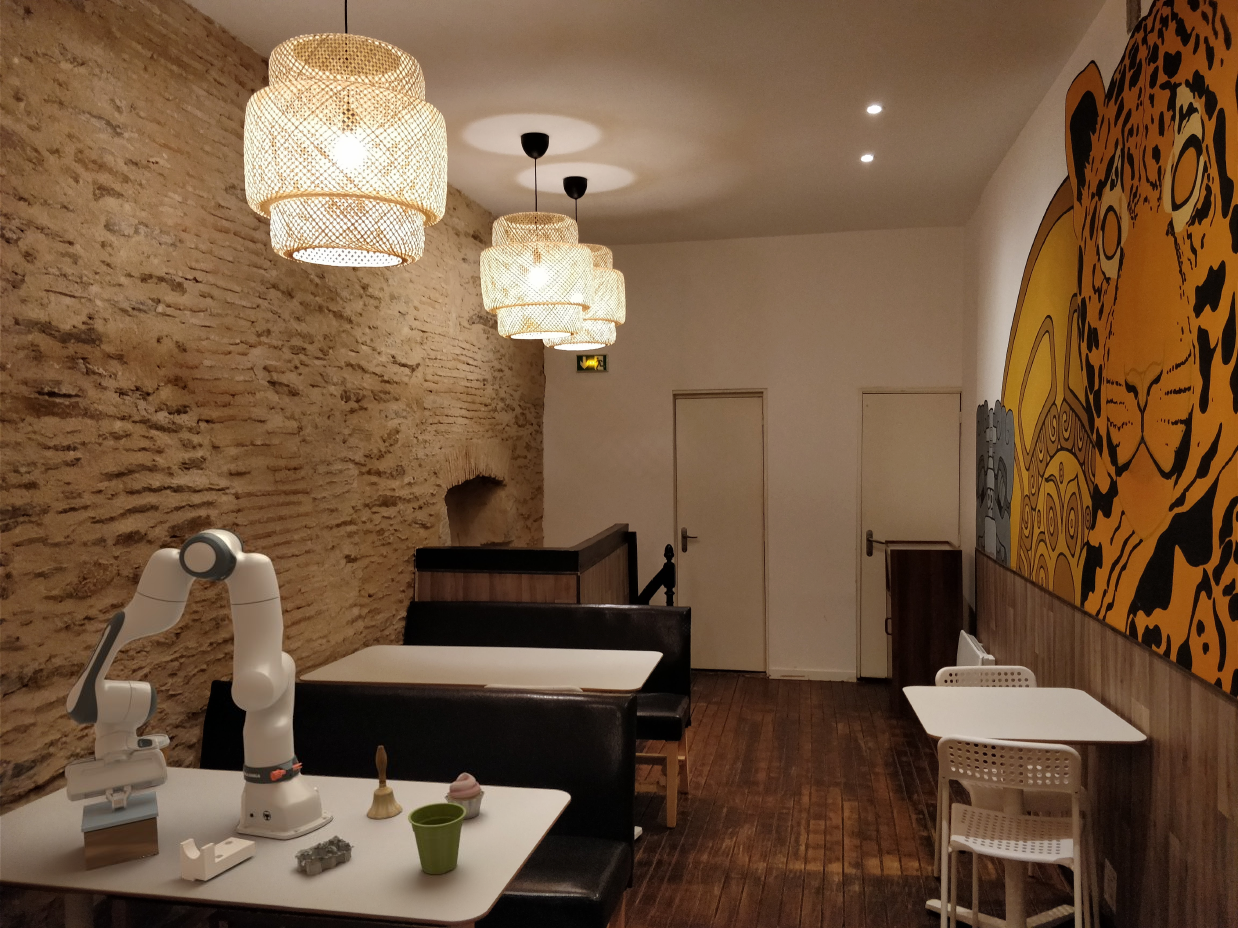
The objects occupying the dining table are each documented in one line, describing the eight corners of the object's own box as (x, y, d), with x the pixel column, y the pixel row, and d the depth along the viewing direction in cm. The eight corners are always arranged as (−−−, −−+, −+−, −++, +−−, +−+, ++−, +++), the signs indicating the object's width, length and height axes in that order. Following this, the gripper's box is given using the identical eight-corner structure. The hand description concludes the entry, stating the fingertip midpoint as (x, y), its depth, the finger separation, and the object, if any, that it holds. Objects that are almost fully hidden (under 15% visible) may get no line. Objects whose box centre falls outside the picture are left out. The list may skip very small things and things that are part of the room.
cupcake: (459, 825, 211) (457, 782, 211) (438, 814, 218) (436, 773, 218) (493, 813, 217) (491, 771, 217) (472, 803, 224) (470, 762, 224)
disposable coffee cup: (179, 779, 251) (176, 736, 250) (145, 791, 243) (142, 746, 242) (159, 774, 256) (156, 731, 256) (125, 786, 248) (122, 741, 247)
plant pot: (417, 885, 183) (414, 829, 182) (405, 862, 194) (403, 809, 193) (475, 872, 187) (472, 817, 187) (461, 849, 198) (458, 797, 198)
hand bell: (359, 814, 220) (355, 748, 220) (387, 802, 227) (383, 738, 227) (381, 821, 215) (377, 754, 215) (409, 809, 222) (405, 744, 222)
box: (88, 843, 211) (85, 808, 211) (156, 828, 218) (154, 795, 218) (86, 870, 197) (83, 833, 197) (158, 853, 204) (156, 817, 204)
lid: (83, 808, 211) (83, 805, 211) (155, 794, 218) (155, 790, 218) (81, 832, 196) (81, 828, 196) (158, 815, 204) (158, 812, 204)
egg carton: (310, 878, 189) (309, 859, 189) (292, 868, 194) (291, 849, 194) (356, 859, 196) (355, 840, 196) (338, 849, 202) (337, 831, 202)
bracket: (206, 884, 188) (203, 848, 188) (181, 879, 191) (179, 843, 191) (255, 857, 200) (253, 823, 200) (232, 852, 203) (230, 818, 203)
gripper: (63, 755, 207) (64, 812, 199) (164, 737, 217) (169, 791, 209) (66, 769, 211) (66, 825, 203) (165, 751, 221) (169, 804, 213)
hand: (119, 808), depth 206 cm, fingers closed, pressing on lid
